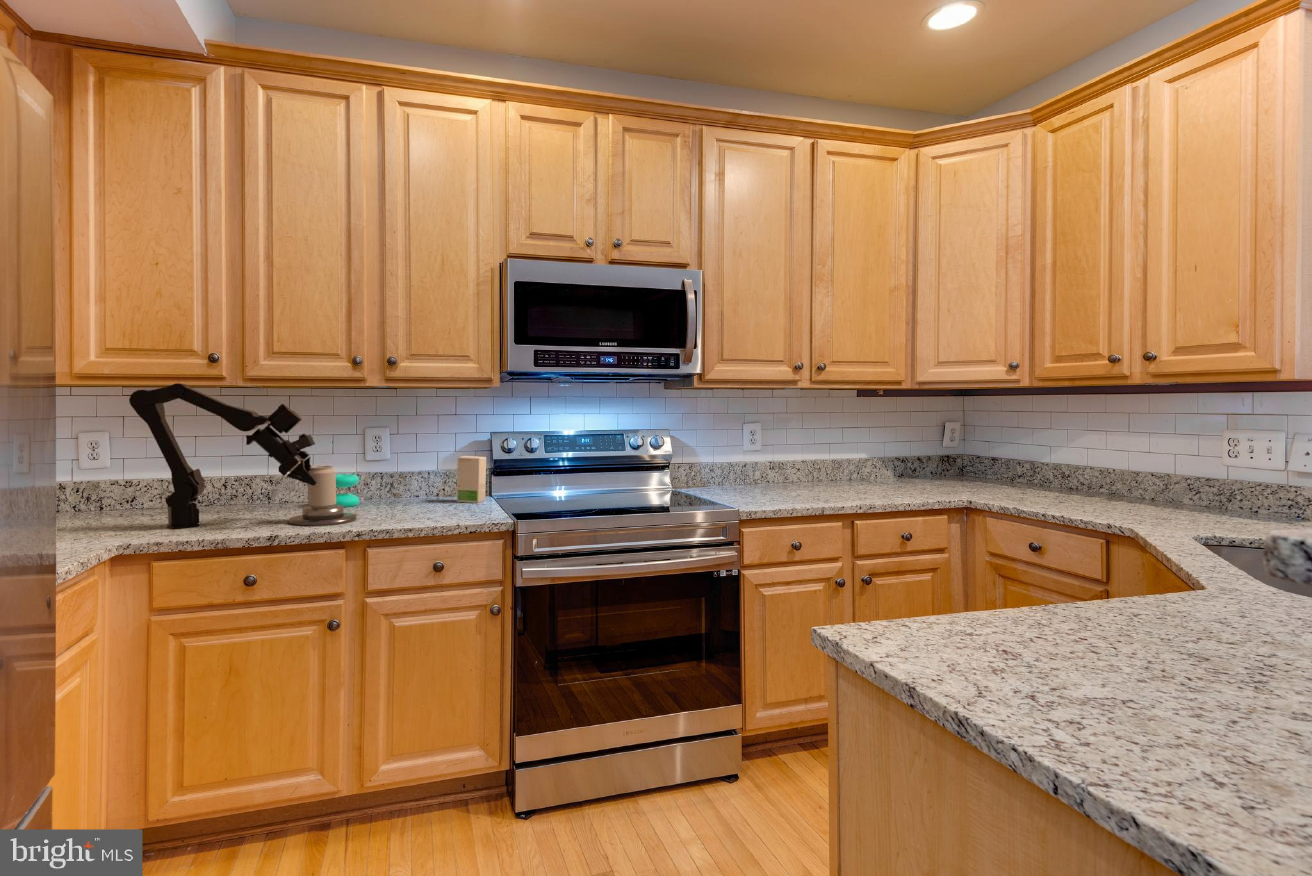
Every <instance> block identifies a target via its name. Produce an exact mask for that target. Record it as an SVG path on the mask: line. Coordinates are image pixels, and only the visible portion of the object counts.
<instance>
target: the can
mask: <svg viewBox="0 0 1312 876" xmlns="http://www.w3.org/2000/svg"><path fill="white" fill-rule="evenodd" d="M336 472H337V471H336V470H335V469H334V466H333V465H312V467H310V470H309V471H308V473H309V474H310V475H311V477H312V478H313V479H314V480H315V482H316V484H315V485H314V486H313V485H310V484H307V506H310V507H311V508H315V509H323V508H331V507H333V506H334V505H335V504H336V495H337V487H336V475H337V474H336Z"/></svg>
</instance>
